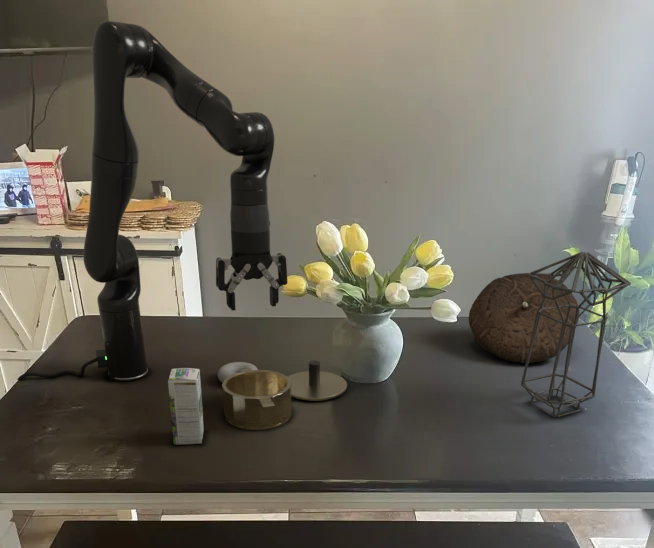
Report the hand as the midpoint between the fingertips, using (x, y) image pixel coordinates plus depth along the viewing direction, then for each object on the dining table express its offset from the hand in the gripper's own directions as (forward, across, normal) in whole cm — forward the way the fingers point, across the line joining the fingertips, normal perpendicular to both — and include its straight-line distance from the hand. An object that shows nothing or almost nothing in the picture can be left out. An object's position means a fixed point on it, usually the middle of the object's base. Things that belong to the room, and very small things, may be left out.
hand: (252, 307), depth 139 cm
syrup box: (+24, +16, +8) cm, 30 cm away
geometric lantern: (+23, -64, +20) cm, 71 cm away
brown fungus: (+24, -77, -12) cm, 82 cm away
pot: (+24, 0, +2) cm, 24 cm away
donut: (+24, 0, -17) cm, 29 cm away
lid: (+23, -16, -7) cm, 29 cm away
